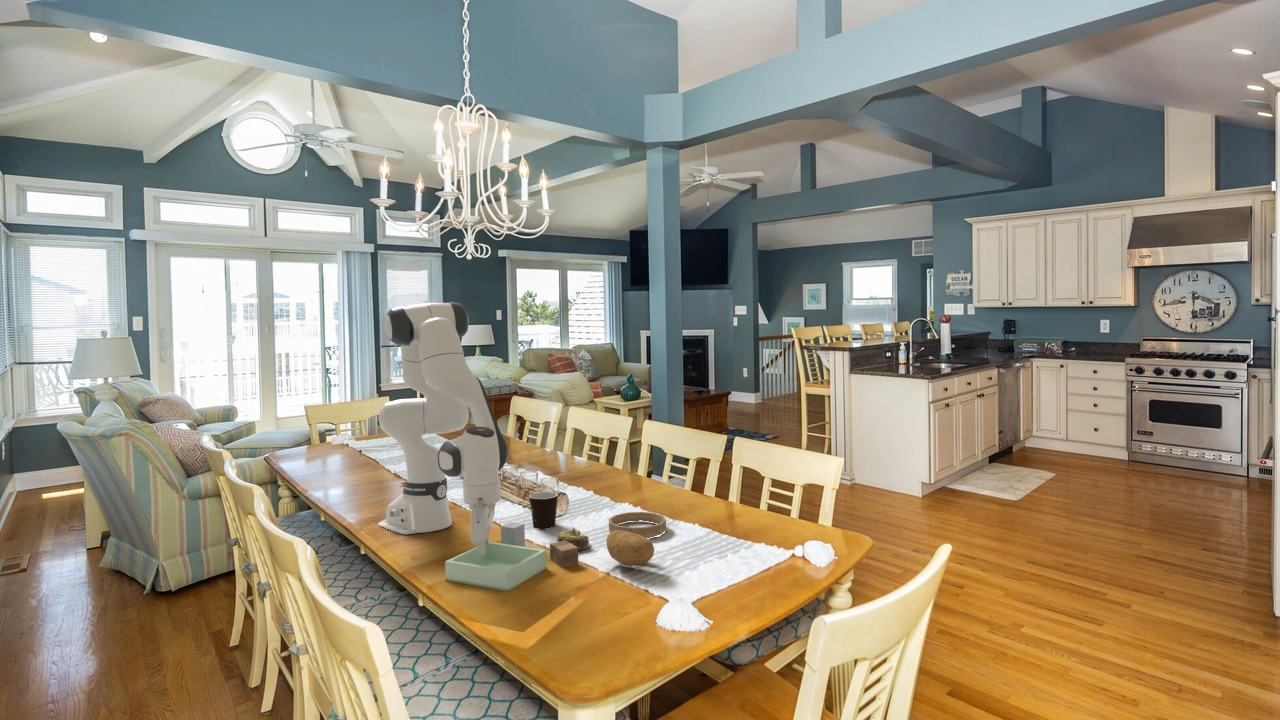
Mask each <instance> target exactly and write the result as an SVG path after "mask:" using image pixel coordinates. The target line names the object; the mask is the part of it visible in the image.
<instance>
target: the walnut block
mask: <svg viewBox="0 0 1280 720" xmlns="http://www.w3.org/2000/svg"><path fill="white" fill-rule="evenodd" d="M549 554H550V556H549V557H550V559H549V561H551V562H553V564H556V566H559V567H560V568H562V569H564V568H568V567H574V566H577V565H579V550H578V547H576V546H575V545H573V544H571V543H570V542H568V541H566V540H564V541H560V542H557V541H555V542H552V543H549Z"/></svg>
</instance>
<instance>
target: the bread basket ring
mask: <svg viewBox="0 0 1280 720" xmlns="http://www.w3.org/2000/svg"><path fill="white" fill-rule="evenodd" d="M639 520H643V521H649V522H654V523H657V525H655V524H651V525H650V526H637V527H636V526H633V527H631V526H624V525H617V524H619V523H623V522H627V521H639ZM615 530H623V531H628V532H631V533H636V534H638V535H641V536H643V537H645V538H650V537H654V536H657V535H660V534H662V533H663V532H664V531H665V530H666V531H667V520H666V517H665V516H663V515H662V514H661V515H660V514H658V513H656V512H647V511H629V512H623V513H619V514H615V515H613V516H611V517H609V518H608V532H609V533H611V532H613V531H615ZM609 533H608V534H609Z"/></svg>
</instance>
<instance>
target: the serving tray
mask: <svg viewBox="0 0 1280 720" xmlns="http://www.w3.org/2000/svg"><path fill="white" fill-rule="evenodd" d="M547 565H548V564H547V550H546V549H541V548H534V547H527V546H525V547H522V546H515V545H508V544H501V542H494V541H488V546H486V553H485V554H481V555H479V554H478V546H477V545H476V546H475V547H473V548H471V549H469V550H467V551H465V552H463V553H461V554H458V555H456V556H453V557H451V558H449V559H447V560H445V561H444V567H445V581H448V582H453V583H458V584H462V585H469V586H474V587H478V588H479V587H480V588H484V589H490V590H495V591H496V590H497V591H501V592H506V593H508V592H510V591H511V590H513V589H515V588H516V587H518V586H520V585H522V584H523V583H524V582H525V583H526V581H528V580H529V579H531V578H533V577H534V576H536V575H538V574H540V573H541V572H543V571H544V570H546V569H547Z"/></svg>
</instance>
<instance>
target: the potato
mask: <svg viewBox="0 0 1280 720" xmlns="http://www.w3.org/2000/svg"><path fill="white" fill-rule="evenodd" d="M605 541H606V549H607V551H608V553H609V557H611V559H613V560H615V561H616V562H618V563H620V564H621V565H622V566H625V567H634V566H635V567H636V566H643V565H645V564H646V563H648V562H650V560H652V558H653V557H654V555H655V554H654V553H655V547H654V545H653V542H652V541H651V539H647V538H645V537H643V536H641V535H638V534H636V533H631V532H628V531H623V530H615V531H613V532H611V533H610V534H609V533H608V535H607V537H606V540H605Z"/></svg>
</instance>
